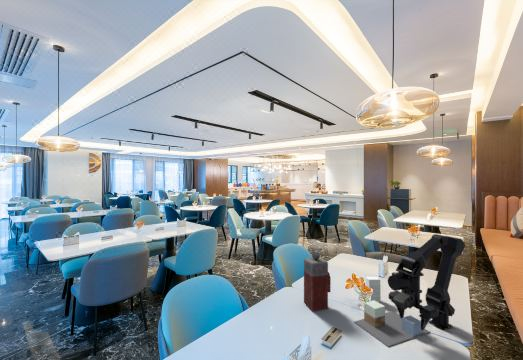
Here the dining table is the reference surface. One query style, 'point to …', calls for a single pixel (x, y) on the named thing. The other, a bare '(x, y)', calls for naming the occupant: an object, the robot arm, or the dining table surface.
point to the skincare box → (374, 287)
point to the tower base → (374, 320)
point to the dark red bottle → (316, 282)
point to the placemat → (389, 330)
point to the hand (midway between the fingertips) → (411, 323)
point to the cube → (411, 325)
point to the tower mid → (374, 309)
